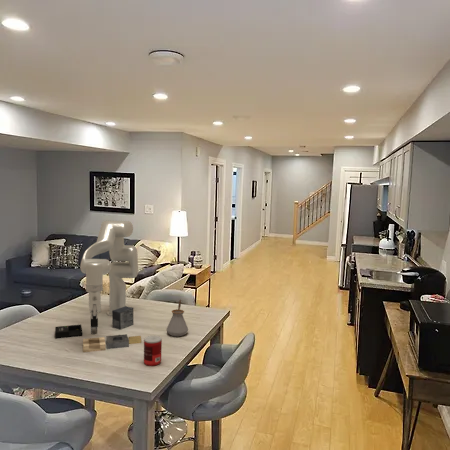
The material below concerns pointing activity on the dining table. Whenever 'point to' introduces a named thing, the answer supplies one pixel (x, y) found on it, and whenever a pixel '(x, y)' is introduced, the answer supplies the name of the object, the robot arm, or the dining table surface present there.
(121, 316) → the small box
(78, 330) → the battery charger
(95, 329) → the clear plastic bottle
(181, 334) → the coffee pot
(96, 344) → the frame
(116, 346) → the socket
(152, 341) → the canned food
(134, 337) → the yellow rectangular block
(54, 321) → the dining table surface
